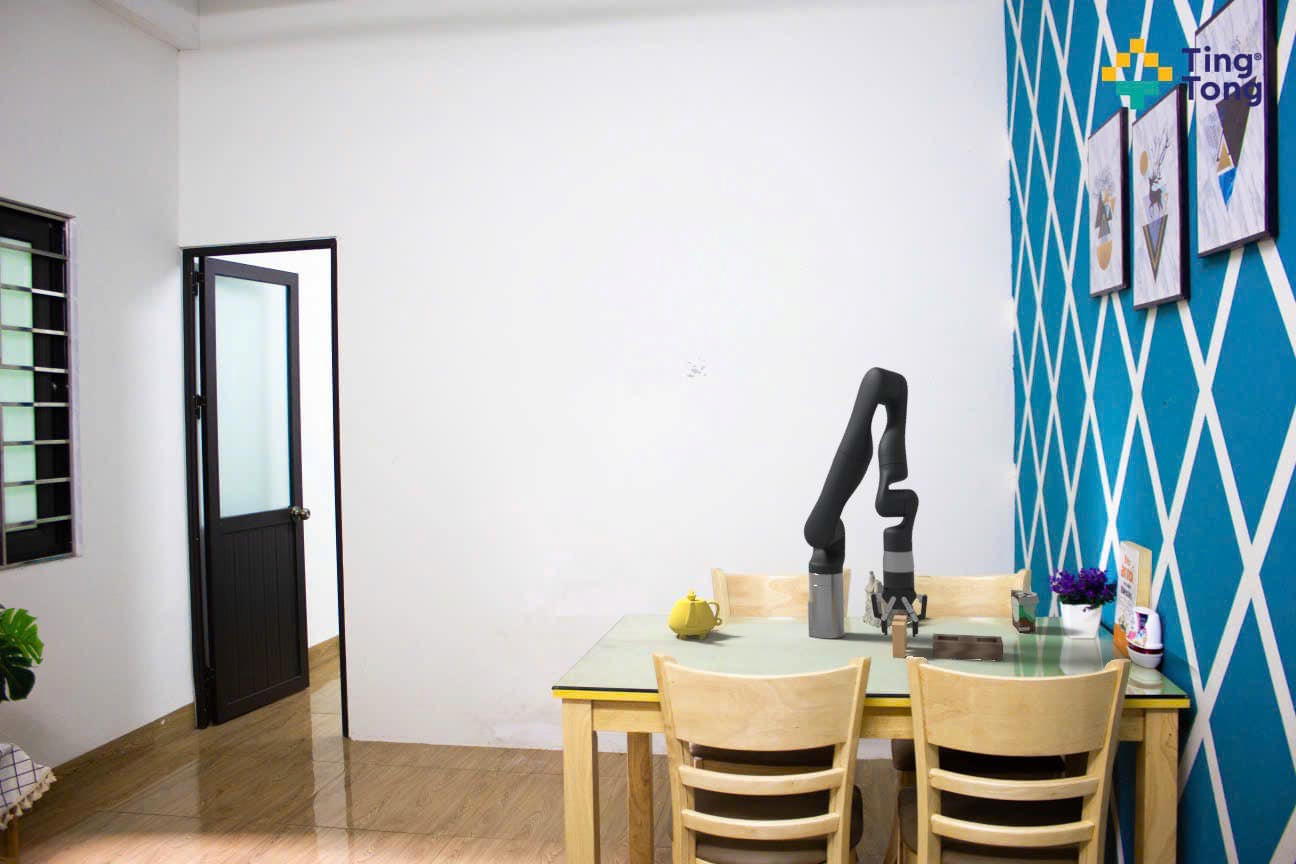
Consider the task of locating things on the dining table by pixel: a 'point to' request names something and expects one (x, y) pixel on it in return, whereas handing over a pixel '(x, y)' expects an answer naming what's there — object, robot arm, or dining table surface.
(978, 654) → the brown slotted wooden block
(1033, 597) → the food container
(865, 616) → the ceramic cottage
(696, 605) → the teapot
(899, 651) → the tan u-shaped block
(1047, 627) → the dining table surface
